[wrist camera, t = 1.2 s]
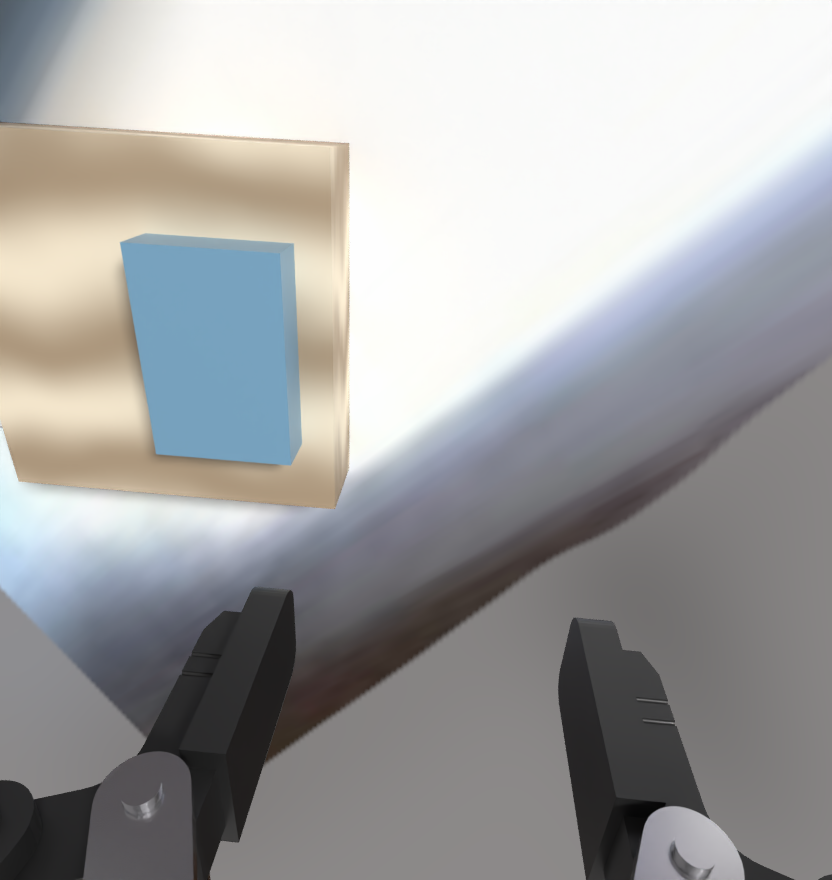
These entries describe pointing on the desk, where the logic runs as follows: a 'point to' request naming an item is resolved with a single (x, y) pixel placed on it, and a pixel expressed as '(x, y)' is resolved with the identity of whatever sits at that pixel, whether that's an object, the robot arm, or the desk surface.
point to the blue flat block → (217, 345)
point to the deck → (109, 311)
